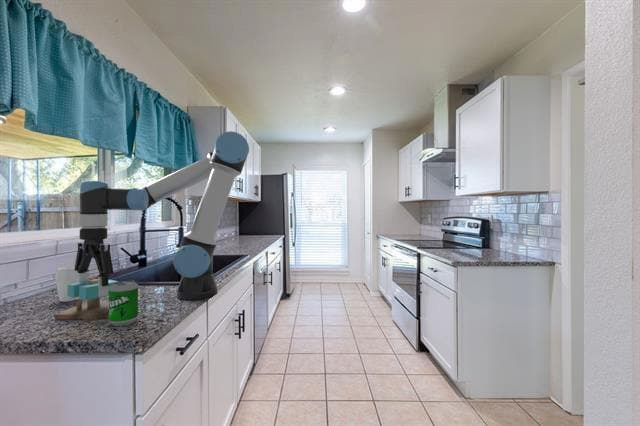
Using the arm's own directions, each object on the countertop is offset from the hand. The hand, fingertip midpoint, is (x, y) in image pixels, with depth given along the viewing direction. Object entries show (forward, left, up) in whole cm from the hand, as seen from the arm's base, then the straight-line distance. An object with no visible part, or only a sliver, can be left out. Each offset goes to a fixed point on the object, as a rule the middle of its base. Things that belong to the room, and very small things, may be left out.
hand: (93, 293), depth 103 cm
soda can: (-16, +11, -6) cm, 20 cm away
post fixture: (0, 0, -6) cm, 6 cm away
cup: (+18, -16, -6) cm, 25 cm away
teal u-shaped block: (0, 0, 0) cm, 0 cm away
